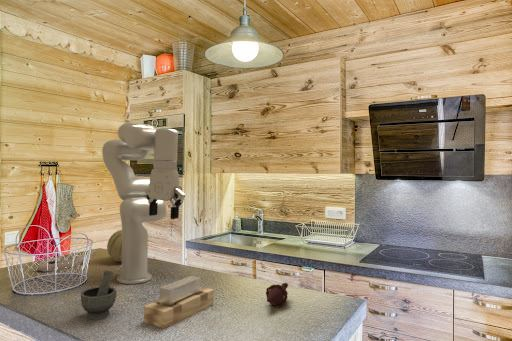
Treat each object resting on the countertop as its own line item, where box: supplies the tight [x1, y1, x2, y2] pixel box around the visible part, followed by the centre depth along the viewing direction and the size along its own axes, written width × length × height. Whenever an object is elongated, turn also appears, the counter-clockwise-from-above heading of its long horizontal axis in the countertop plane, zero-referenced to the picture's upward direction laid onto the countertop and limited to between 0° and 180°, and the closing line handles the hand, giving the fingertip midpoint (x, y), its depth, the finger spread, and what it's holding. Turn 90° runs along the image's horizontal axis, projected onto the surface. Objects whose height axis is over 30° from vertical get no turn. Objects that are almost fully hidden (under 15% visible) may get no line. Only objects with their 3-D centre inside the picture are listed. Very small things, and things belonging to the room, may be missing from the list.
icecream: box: [265, 282, 289, 308], centre depth 119 cm, size 7×7×15 cm
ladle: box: [32, 248, 98, 273], centre depth 160 cm, size 6×6×25 cm
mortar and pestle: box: [80, 270, 117, 321], centre depth 109 cm, size 11×9×12 cm
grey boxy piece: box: [158, 275, 202, 307], centre depth 112 cm, size 4×14×8 cm, turn 150°
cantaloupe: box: [106, 229, 122, 263], centre depth 170 cm, size 15×15×15 cm
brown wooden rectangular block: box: [143, 286, 215, 329], centre depth 112 cm, size 8×22×4 cm, turn 150°
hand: (163, 216), depth 124 cm, fingers open, 9 cm apart
